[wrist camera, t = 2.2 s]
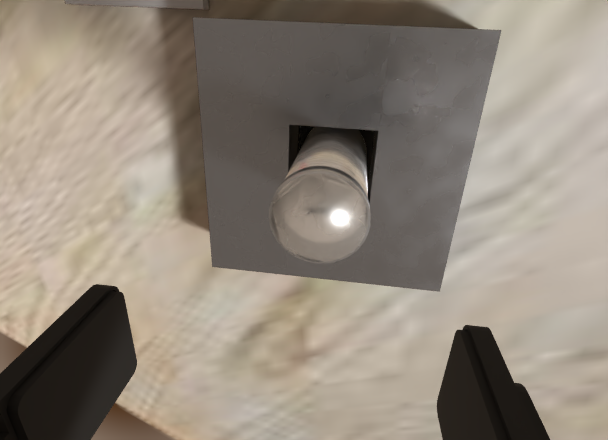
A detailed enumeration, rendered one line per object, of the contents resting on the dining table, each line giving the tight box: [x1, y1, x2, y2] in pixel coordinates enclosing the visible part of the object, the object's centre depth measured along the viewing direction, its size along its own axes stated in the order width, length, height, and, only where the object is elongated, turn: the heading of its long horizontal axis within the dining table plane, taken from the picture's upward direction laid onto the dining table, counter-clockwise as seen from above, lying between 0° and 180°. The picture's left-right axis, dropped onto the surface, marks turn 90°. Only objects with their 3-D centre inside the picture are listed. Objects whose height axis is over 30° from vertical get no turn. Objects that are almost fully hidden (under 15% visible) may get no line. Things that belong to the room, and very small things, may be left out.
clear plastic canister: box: [269, 126, 371, 264], centre depth 23 cm, size 5×5×11 cm
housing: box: [193, 17, 501, 292], centre depth 26 cm, size 16×16×4 cm
